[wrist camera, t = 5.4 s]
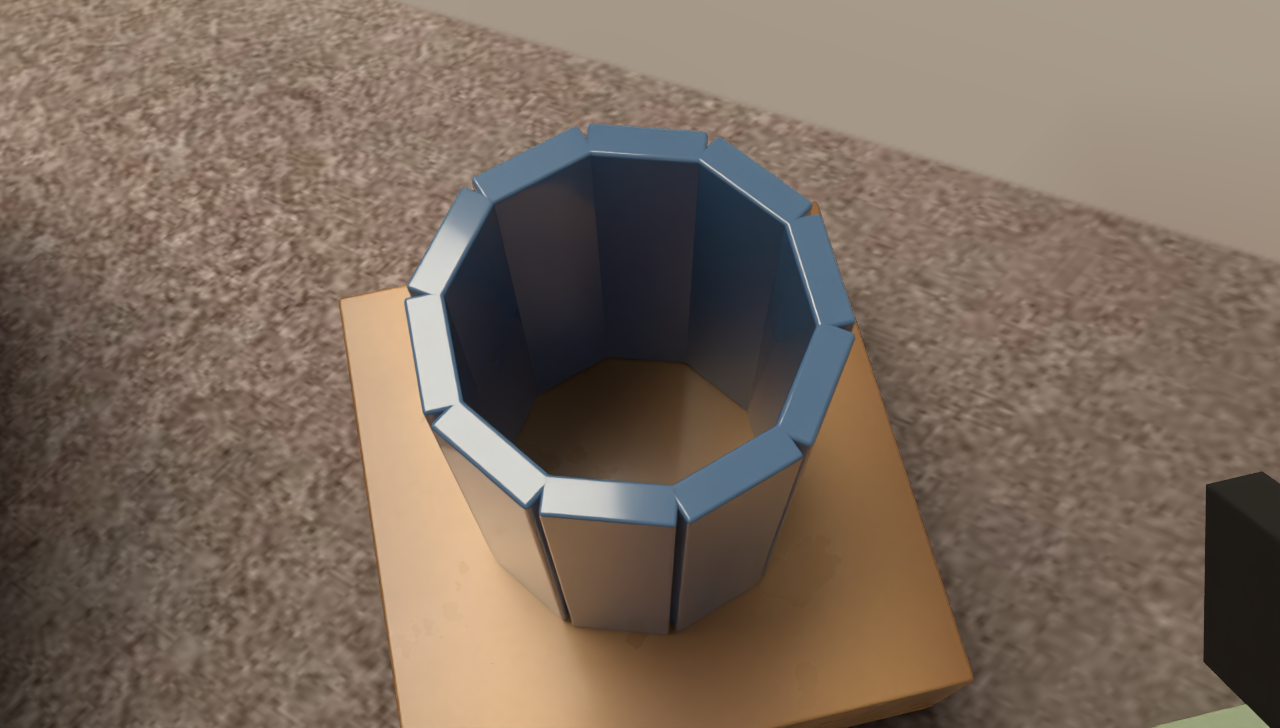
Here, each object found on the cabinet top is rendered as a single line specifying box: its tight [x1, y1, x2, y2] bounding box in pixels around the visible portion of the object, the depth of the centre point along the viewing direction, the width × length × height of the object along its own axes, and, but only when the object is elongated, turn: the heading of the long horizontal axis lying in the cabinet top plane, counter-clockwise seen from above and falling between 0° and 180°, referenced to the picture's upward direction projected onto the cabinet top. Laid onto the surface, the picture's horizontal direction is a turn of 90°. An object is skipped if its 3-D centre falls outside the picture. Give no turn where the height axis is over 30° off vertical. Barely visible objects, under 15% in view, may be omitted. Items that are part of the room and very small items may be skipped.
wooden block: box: [339, 202, 974, 728], centre depth 27 cm, size 11×11×4 cm
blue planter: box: [404, 123, 856, 635], centre depth 21 cm, size 6×7×8 cm
